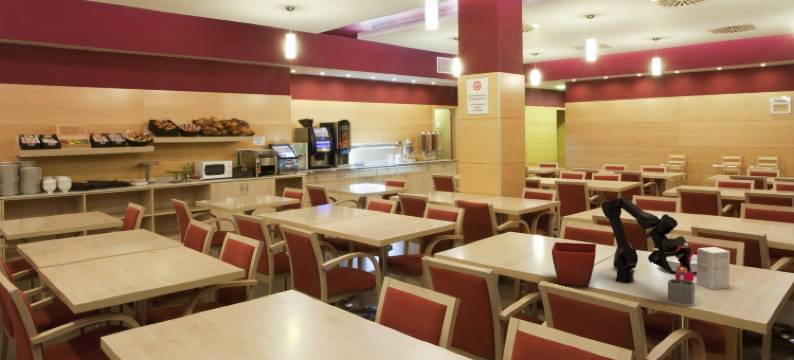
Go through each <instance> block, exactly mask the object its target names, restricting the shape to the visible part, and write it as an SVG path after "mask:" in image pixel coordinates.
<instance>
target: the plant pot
mask: <svg viewBox="0 0 794 360" xmlns="http://www.w3.org/2000/svg"><path fill="white" fill-rule="evenodd" d="M596 252H597V244H596V243H580V242H559V241H557V242H554V245H553V247H552V249H551V256H552V262H553V267H554V272H555V275H556V277H557V281H558V284H559V285H561V286H575V287H589V285H590V282H591V279H592V275H593V271H594V267H595V260H596V256H597V255H596Z"/></svg>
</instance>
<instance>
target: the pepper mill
mask: <svg viewBox="0 0 794 360" xmlns="http://www.w3.org/2000/svg"><path fill="white" fill-rule="evenodd" d="M683 247H689V244H688V243H687V242H686V243H684V245H683ZM680 248H681V247H678V250H679V249H680ZM691 250H692V251H693V252H692V253H691V254H690V255H689V263H690V262H691V261H692V260H691V259H692V258H691V257H692V256H693V255H694V250H693V249H692V248H691ZM680 266H682V267H684V266H683V265H682V264H681V263H680ZM694 278H695V277H694V274H693V272H692V271H688V270H687V274H683V280H689V281H691V282H694ZM674 279H680V274H679V273H677V272H675V278H674Z"/></svg>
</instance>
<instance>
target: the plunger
mask: <svg viewBox="0 0 794 360" xmlns="http://www.w3.org/2000/svg"><path fill="white" fill-rule="evenodd" d="M677 273H679V274H680V283H678V282H677V283H674V284H678V285H689V284H686V283H683V274H687V268H686V267H682V266H678V267H677Z"/></svg>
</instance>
